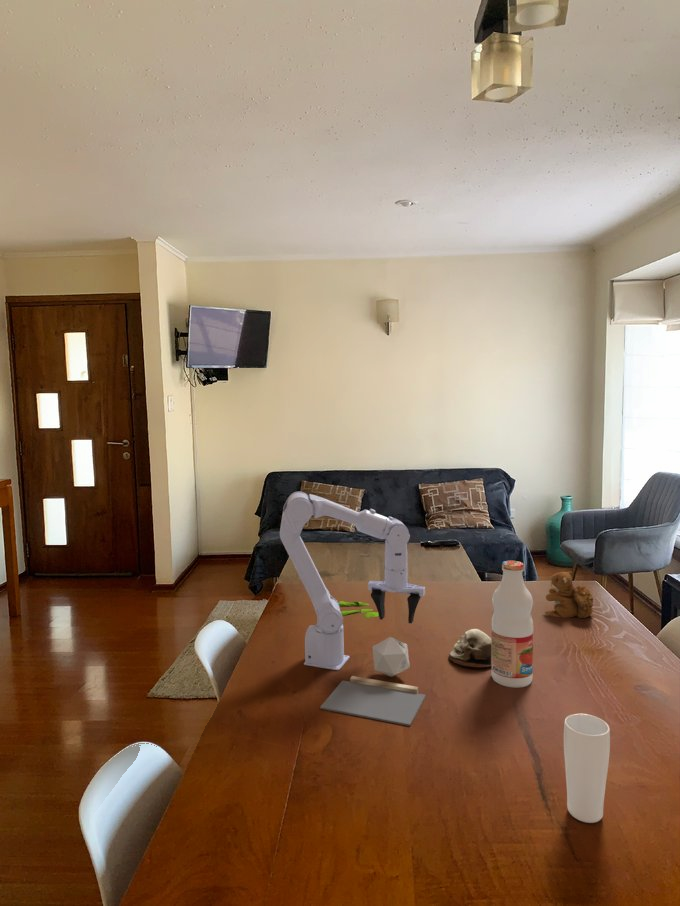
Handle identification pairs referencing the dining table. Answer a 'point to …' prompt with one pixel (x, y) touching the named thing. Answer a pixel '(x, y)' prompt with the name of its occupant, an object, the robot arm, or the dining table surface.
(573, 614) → the stuffed squirrel
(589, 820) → the drinking glass
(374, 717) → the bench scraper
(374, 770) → the dining table surface
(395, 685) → the stop bar
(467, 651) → the skull
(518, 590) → the fruit juice
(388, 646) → the die
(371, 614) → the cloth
